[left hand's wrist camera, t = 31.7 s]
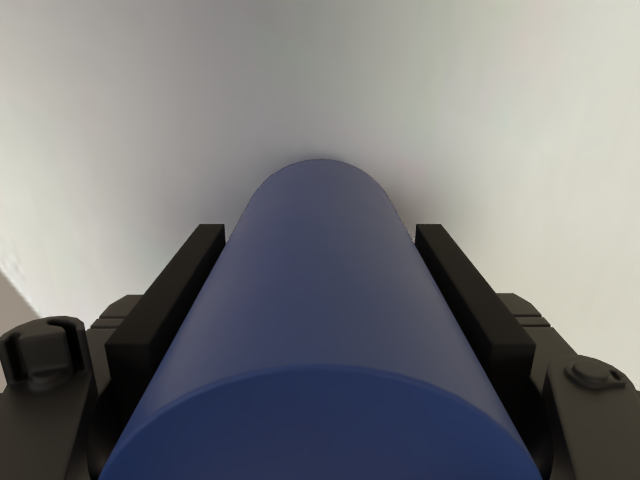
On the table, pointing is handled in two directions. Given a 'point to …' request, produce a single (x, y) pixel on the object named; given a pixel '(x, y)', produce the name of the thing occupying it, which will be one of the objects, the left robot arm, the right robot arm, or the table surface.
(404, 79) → the table surface
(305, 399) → the canister
